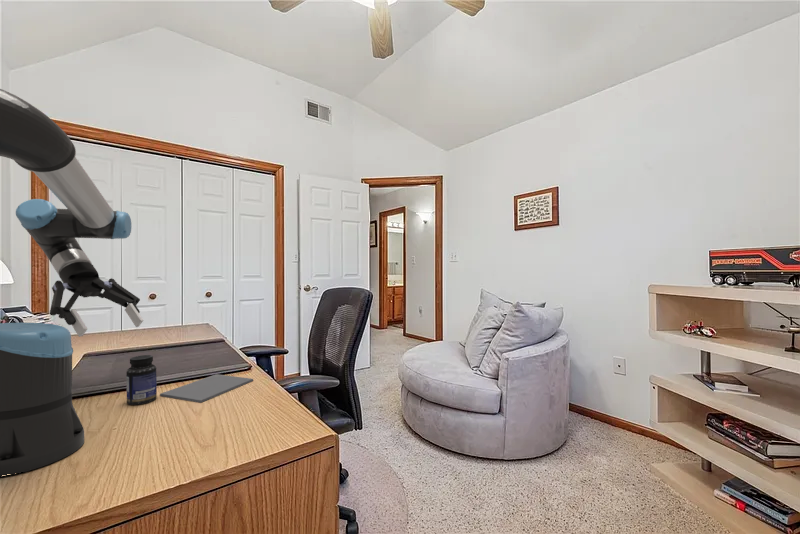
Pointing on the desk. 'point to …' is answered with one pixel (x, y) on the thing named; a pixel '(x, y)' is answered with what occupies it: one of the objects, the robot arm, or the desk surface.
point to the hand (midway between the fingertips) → (113, 328)
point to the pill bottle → (141, 380)
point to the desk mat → (206, 388)
